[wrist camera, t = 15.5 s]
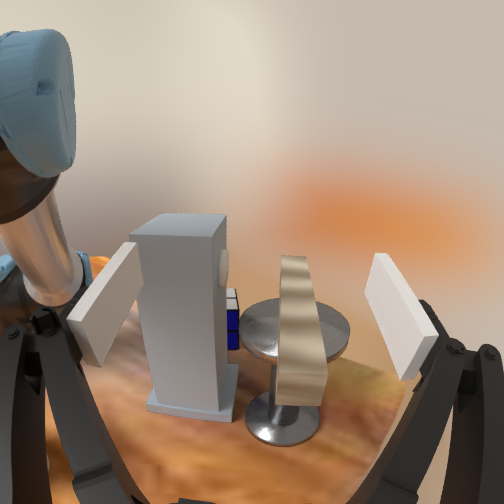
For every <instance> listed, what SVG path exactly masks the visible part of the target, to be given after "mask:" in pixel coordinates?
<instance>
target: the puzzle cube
mask: <svg viewBox="0 0 504 504" xmlns="http://www.w3.org/2000/svg"><path fill="white" fill-rule="evenodd" d="M226 293H227V350H231V349H239V305H238V300H237V293H236V289H234V288H226Z"/></svg>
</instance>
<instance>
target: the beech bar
mask: <svg viewBox="0 0 504 504" xmlns="http://www.w3.org/2000/svg"><path fill="white" fill-rule="evenodd" d="M328 375H329V372H328V366H327V361H326V355H325V349H324V344H323V338H322V333H321V327H320V322H319V317H318V312H317V307H316V302H315V297H314V292H313V287H312V283H311V277H310V273H309V268H308V264H307V259H306V257H303V256H285V255H282V257H281V272H280V298H279V330H278V356H277V378H276V398H275V405H294V406H321V402H322V398H323V395H324V391H325V387H326V383H327V379H328Z"/></svg>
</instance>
